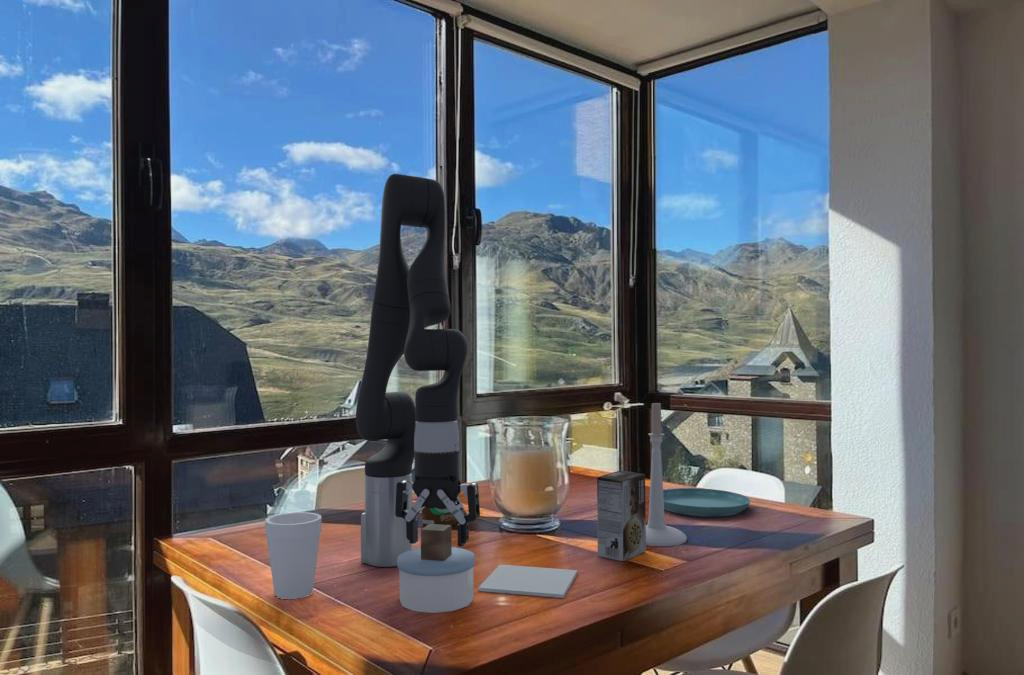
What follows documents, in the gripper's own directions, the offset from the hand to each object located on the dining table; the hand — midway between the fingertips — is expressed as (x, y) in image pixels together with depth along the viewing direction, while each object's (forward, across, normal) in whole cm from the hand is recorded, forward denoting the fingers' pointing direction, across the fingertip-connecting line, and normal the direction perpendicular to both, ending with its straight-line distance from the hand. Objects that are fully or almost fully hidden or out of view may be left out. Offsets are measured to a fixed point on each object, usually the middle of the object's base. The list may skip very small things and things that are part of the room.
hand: (437, 544), depth 130 cm
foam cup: (+9, -25, -3) cm, 27 cm away
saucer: (+10, +42, +82) cm, 93 cm away
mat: (+9, +13, +13) cm, 20 cm away
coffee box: (+10, +27, +35) cm, 45 cm away
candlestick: (+10, +33, +49) cm, 60 cm away
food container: (+9, -16, +50) cm, 54 cm away
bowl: (+9, 0, 0) cm, 9 cm away
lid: (+3, 0, 0) cm, 3 cm away
